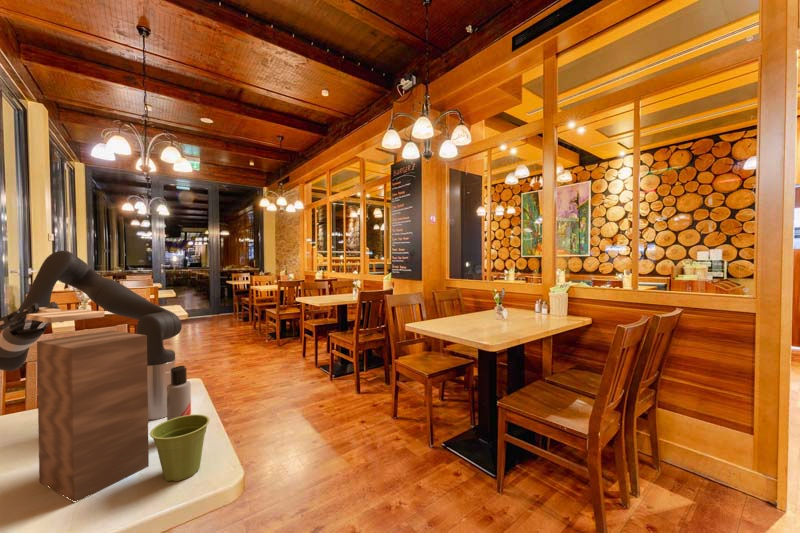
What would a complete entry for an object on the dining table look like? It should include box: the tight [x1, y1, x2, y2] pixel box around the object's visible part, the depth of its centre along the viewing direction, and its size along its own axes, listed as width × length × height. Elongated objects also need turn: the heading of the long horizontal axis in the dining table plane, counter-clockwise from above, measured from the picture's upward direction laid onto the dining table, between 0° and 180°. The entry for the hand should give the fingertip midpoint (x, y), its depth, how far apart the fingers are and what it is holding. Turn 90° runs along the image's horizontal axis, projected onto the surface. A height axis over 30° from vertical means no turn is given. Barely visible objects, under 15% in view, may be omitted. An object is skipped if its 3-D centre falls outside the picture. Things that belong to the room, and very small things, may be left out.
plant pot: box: [149, 414, 210, 482], centre depth 80 cm, size 12×12×11 cm
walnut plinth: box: [36, 329, 150, 501], centre depth 80 cm, size 16×14×32 cm
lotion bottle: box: [166, 365, 192, 421], centre depth 97 cm, size 6×6×20 cm
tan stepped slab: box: [26, 307, 105, 324], centre depth 87 cm, size 23×10×2 cm, turn 65°
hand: (45, 305), depth 90 cm, fingers closed on tan stepped slab, 2 cm apart
